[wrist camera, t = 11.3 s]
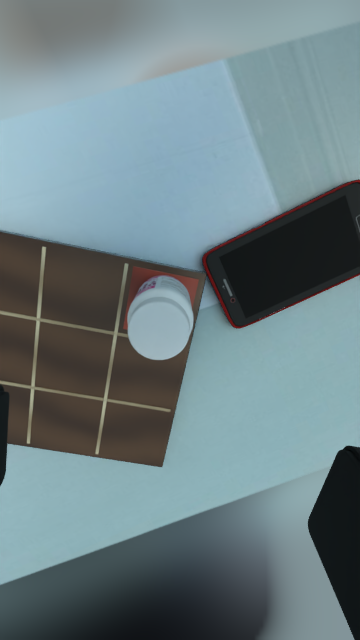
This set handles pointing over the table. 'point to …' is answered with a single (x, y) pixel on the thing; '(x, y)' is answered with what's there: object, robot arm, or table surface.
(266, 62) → the table surface
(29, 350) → the grid board
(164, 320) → the pill bottle
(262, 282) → the cell phone
